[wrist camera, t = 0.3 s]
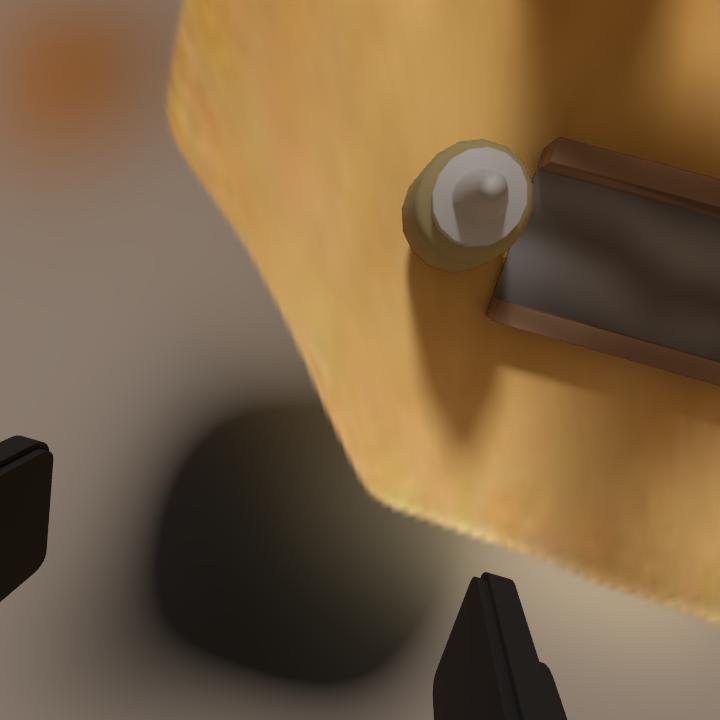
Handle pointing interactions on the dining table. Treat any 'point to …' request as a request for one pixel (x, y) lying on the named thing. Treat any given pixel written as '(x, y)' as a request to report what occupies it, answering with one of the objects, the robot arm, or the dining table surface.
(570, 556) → the dining table surface
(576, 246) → the brown wooden tray
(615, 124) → the dining table surface
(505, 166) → the squeeze bottle
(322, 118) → the dining table surface
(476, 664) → the robot arm
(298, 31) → the dining table surface
